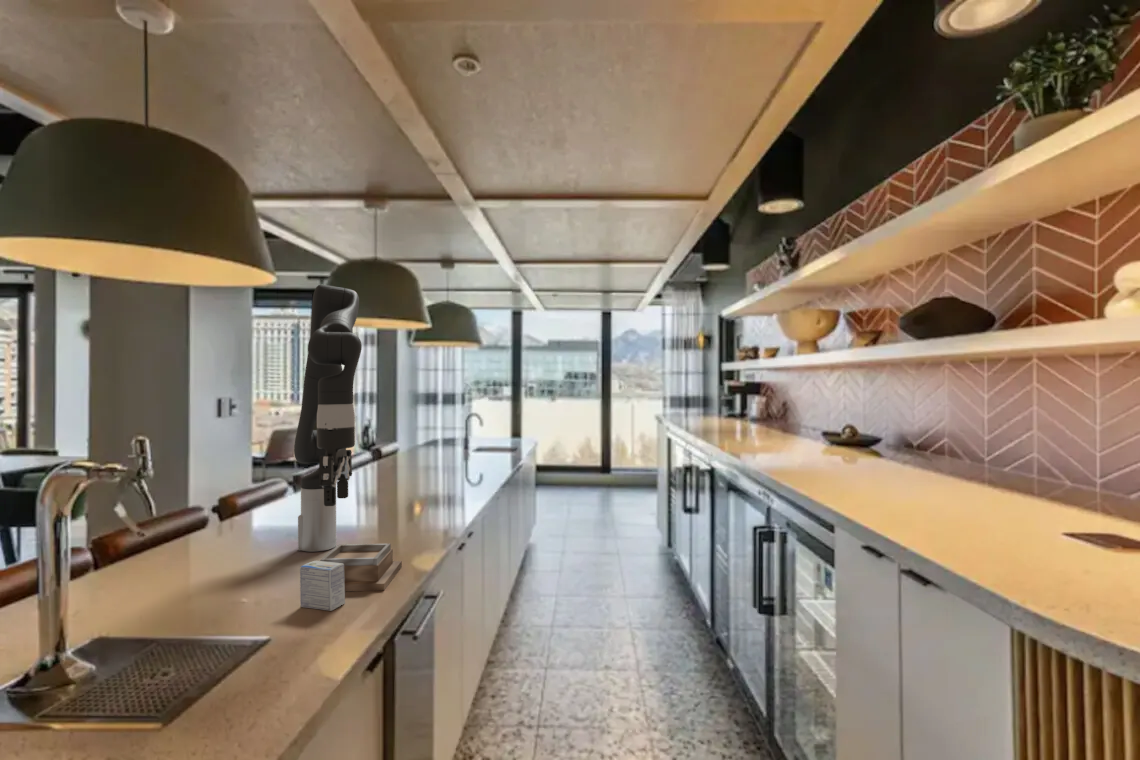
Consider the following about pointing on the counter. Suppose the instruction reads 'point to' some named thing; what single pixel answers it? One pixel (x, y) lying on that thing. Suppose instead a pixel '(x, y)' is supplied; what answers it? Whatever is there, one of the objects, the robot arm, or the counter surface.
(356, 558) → the display stand
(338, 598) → the medicine box
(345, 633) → the counter surface
